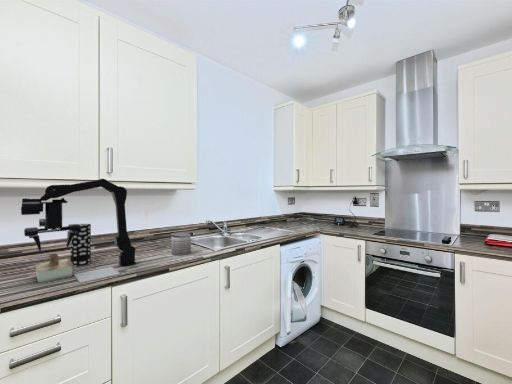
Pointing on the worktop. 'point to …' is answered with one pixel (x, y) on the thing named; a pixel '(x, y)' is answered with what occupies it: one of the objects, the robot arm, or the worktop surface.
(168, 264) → the worktop surface
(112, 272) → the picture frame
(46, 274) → the dish
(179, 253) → the can
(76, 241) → the white-spotted black cylinder
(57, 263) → the cover
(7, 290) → the worktop surface
